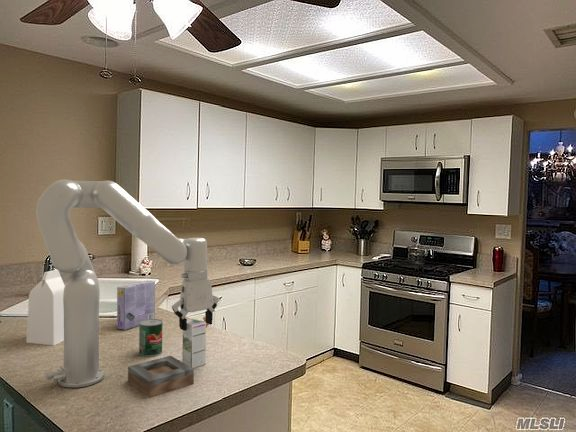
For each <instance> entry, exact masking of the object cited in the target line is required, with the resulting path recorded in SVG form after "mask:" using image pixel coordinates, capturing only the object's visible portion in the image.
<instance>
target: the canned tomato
mask: <svg viewBox="0 0 576 432" xmlns="http://www.w3.org/2000/svg"><path fill="white" fill-rule="evenodd" d="M138 328H139V332H138V333H139V336H138V337H139V338H138V339H139V340H138V341H139V342H138V355H139V356H141V357H144V358H145V357H146V358H147V357H156V356H157V357H158V356H159V355H161V354H162V353H163V320H162V319H158V318H155V319H147V320H143V321H140V323H139V326H138Z"/></svg>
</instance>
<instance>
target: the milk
mask: <svg viewBox="0 0 576 432" xmlns="http://www.w3.org/2000/svg"><path fill="white" fill-rule="evenodd" d="M64 287H65V285H64V283H63V280H62V278H61V276H60V273H59V271H58V270H57V269H54V270H49V271H45V272H43V276H42V278H41V280H40V281H39V282H38V283H37V284H36V285H35V286H34V287H32V289H31V290H30V291H29V292H28V304H27V305H28V307H27V308H28V309H27V328H26V343H27V344H34V345H35V344H37V345H48V346H55V345H57V344H60V343H62V342H64V306H63V293H64Z"/></svg>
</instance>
